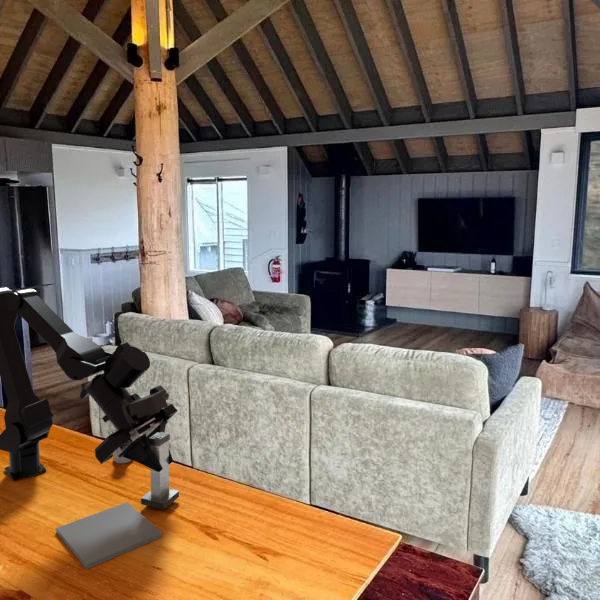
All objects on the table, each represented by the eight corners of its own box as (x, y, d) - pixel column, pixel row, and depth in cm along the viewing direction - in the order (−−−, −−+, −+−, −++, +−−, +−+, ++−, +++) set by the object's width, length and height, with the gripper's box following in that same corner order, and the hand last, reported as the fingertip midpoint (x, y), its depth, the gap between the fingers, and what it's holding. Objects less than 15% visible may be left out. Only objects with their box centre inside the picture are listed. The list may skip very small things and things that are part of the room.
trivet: (56, 532, 95) (56, 528, 95) (127, 506, 104) (127, 502, 103) (86, 569, 86) (86, 564, 85) (161, 536, 94) (161, 532, 94)
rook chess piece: (127, 465, 120) (126, 430, 118) (109, 463, 121) (107, 428, 119) (137, 456, 124) (136, 422, 123) (119, 454, 125) (118, 420, 124)
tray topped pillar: (141, 504, 103) (139, 438, 101) (156, 491, 108) (155, 428, 105) (164, 509, 101) (163, 443, 99) (179, 496, 106) (178, 432, 104)
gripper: (106, 392, 93) (163, 465, 91) (168, 363, 110) (217, 424, 108) (71, 428, 97) (124, 499, 95) (136, 395, 114) (183, 455, 112)
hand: (166, 466), depth 103 cm, fingers closed on tray topped pillar, 3 cm apart
